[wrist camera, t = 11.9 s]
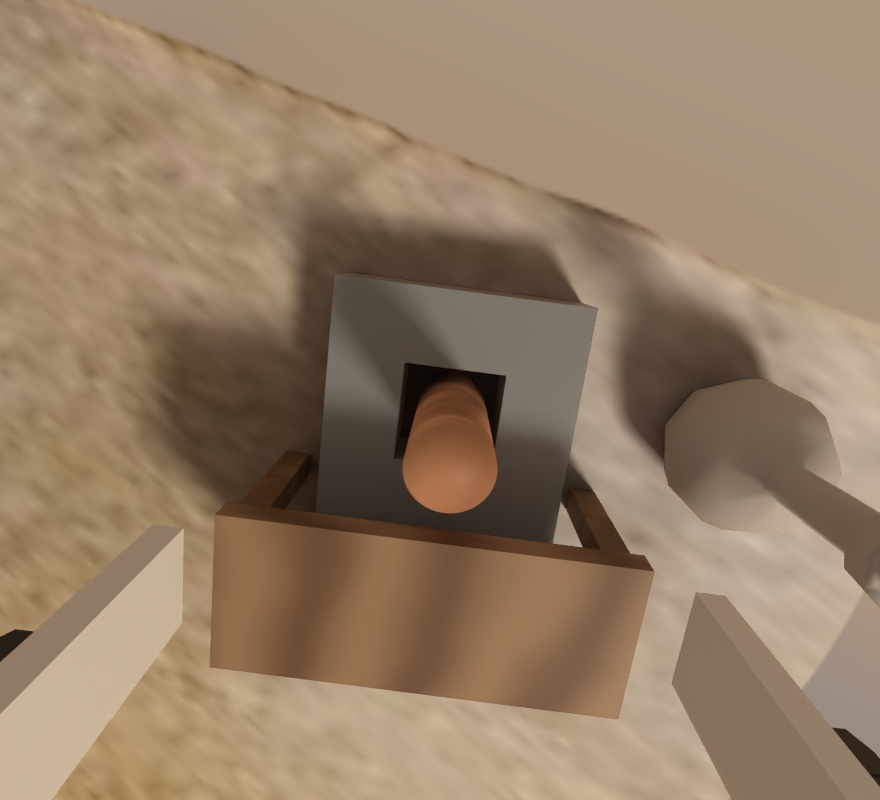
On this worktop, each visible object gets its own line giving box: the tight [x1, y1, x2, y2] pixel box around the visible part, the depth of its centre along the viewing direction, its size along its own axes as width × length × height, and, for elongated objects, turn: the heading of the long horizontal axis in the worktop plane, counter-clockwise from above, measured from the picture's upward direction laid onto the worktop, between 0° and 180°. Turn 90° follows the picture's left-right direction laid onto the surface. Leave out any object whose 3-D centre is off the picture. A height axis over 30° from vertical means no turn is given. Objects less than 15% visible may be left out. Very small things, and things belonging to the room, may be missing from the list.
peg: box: [403, 369, 497, 513], centre depth 30 cm, size 4×4×12 cm
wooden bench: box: [210, 452, 654, 719], centre depth 33 cm, size 21×8×10 cm, turn 83°
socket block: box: [315, 272, 598, 544], centre depth 34 cm, size 14×14×4 cm
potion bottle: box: [664, 378, 880, 607], centre depth 27 cm, size 9×9×18 cm
